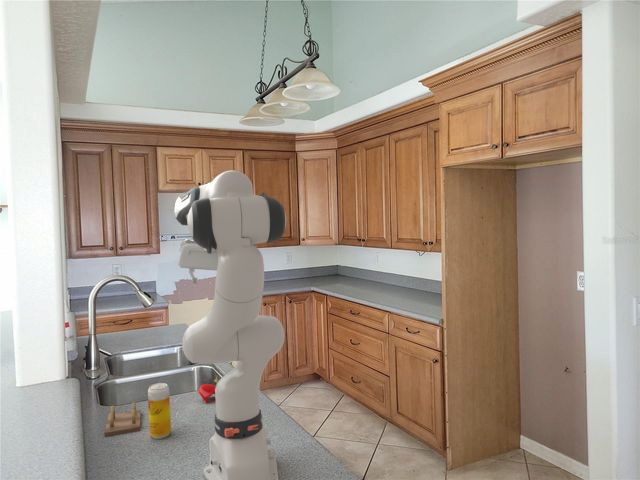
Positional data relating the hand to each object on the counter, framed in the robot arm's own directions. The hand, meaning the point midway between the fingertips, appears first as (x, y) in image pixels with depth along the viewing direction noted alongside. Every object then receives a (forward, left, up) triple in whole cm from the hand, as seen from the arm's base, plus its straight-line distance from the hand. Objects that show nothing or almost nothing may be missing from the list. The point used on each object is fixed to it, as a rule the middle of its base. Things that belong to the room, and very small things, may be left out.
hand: (209, 284), depth 150 cm
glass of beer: (-4, +17, -44) cm, 47 cm away
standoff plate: (+9, +28, -44) cm, 52 cm away
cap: (+18, 0, -44) cm, 47 cm away
